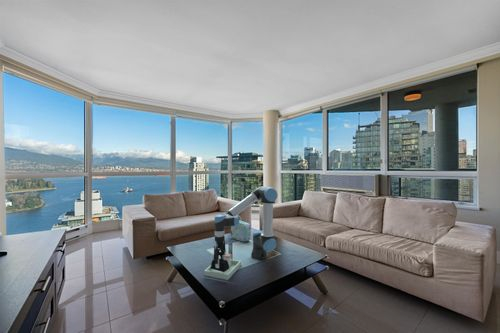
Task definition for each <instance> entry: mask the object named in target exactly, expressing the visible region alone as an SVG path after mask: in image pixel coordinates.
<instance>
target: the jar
mask: <svg viewBox="0 0 500 333" xmlns="http://www.w3.org/2000/svg"><path fill="white" fill-rule="evenodd" d="M232 257H233V256H232V254H231V253H226V254H225V255H224V260H227V261H228V264H229V267H231V259H232Z"/></svg>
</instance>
